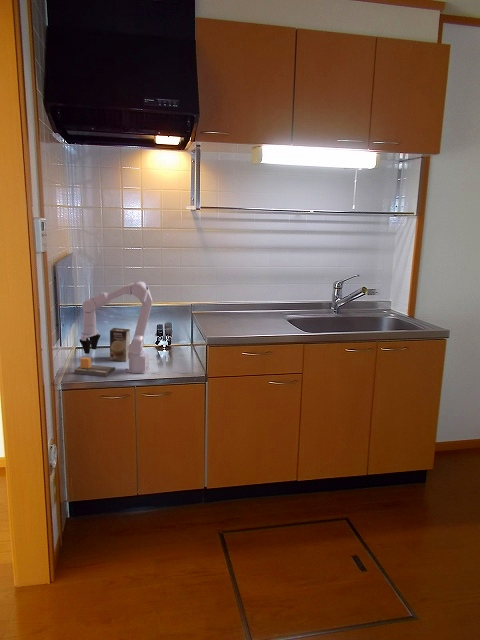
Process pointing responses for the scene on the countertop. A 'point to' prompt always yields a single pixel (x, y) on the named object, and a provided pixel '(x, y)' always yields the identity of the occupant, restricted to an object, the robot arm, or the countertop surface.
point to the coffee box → (119, 344)
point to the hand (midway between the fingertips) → (90, 351)
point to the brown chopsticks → (104, 366)
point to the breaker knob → (85, 362)
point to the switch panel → (94, 371)
